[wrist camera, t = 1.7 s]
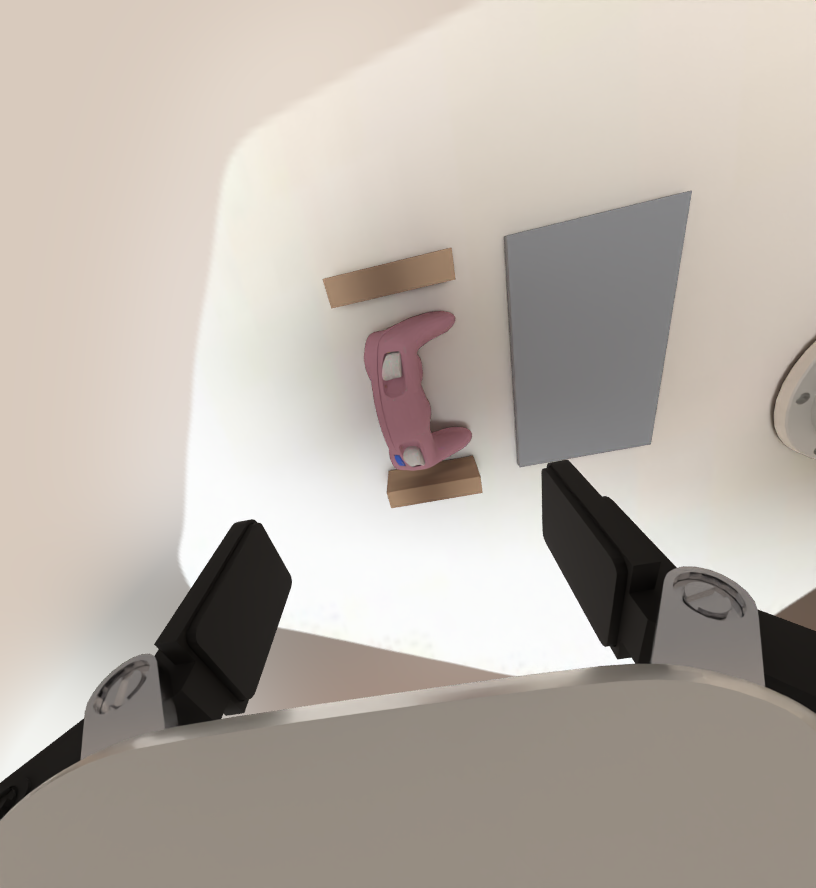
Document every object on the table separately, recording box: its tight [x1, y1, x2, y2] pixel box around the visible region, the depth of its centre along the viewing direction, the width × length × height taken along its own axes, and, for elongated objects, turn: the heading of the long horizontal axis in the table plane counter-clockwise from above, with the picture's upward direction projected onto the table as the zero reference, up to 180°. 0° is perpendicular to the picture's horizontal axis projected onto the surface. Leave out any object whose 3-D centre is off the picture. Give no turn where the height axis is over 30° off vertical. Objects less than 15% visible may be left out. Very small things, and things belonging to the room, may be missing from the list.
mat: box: [504, 191, 692, 467], centre depth 22 cm, size 10×16×1 cm, turn 12°
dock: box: [323, 248, 483, 508], centre depth 22 cm, size 7×16×3 cm, turn 12°
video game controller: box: [364, 311, 472, 471], centre depth 21 cm, size 10×5×7 cm, turn 13°
